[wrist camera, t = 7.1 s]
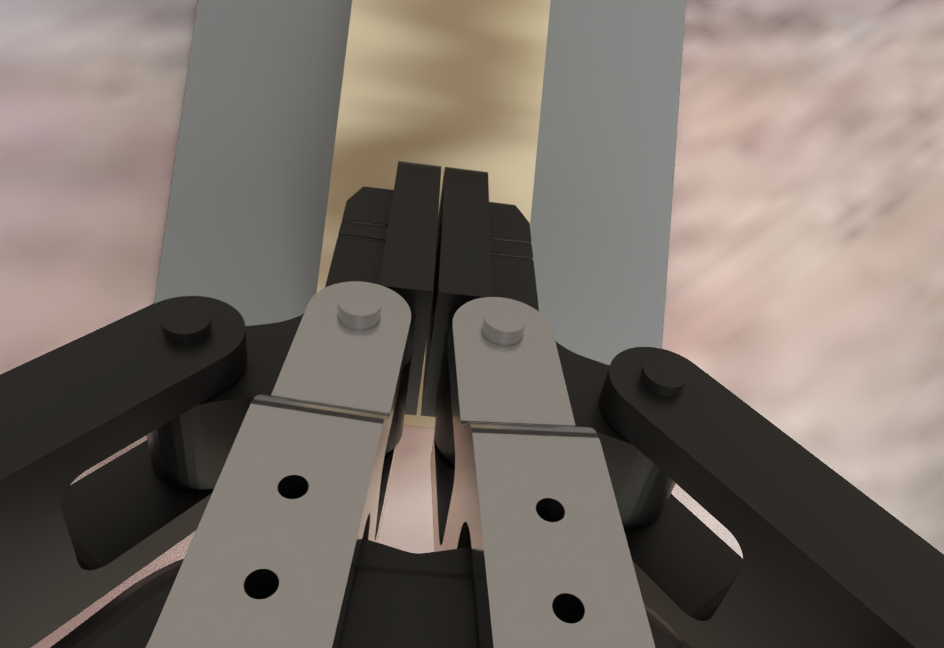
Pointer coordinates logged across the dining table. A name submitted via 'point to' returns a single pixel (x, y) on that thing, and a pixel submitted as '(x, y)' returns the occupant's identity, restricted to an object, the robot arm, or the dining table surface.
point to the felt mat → (312, 147)
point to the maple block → (438, 101)
